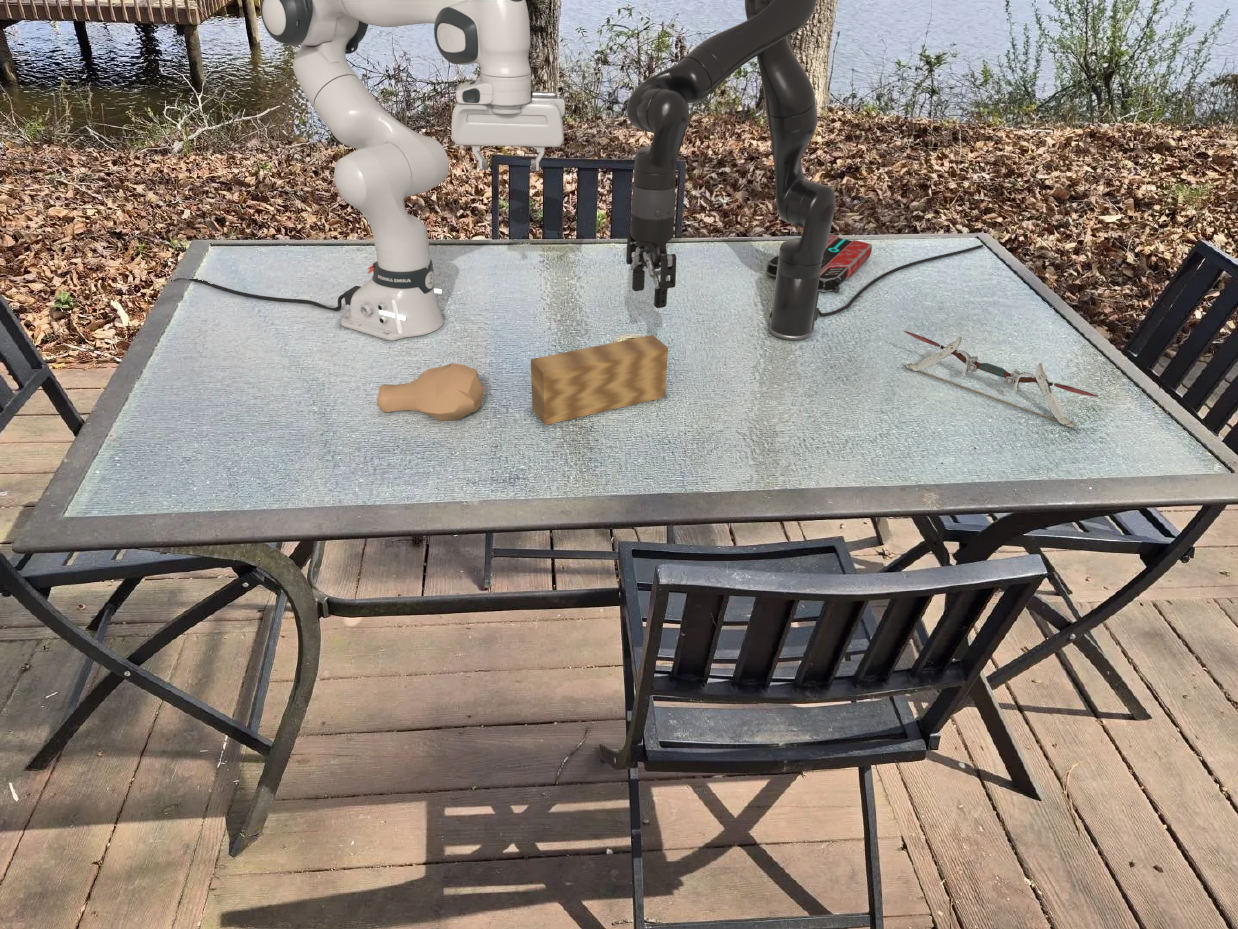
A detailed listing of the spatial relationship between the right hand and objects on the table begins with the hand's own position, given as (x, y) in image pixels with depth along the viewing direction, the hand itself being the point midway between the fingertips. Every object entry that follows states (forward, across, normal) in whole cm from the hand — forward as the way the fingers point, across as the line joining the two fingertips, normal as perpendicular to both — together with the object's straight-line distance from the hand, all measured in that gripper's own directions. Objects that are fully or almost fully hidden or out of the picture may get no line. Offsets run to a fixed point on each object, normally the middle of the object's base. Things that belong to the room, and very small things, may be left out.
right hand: (648, 298), depth 161 cm
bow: (+20, -29, -62) cm, 71 cm away
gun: (+20, +40, -74) cm, 86 cm away
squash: (+20, +10, +40) cm, 45 cm away
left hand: (-18, +25, +17) cm, 35 cm away
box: (+20, 0, +10) cm, 22 cm away
